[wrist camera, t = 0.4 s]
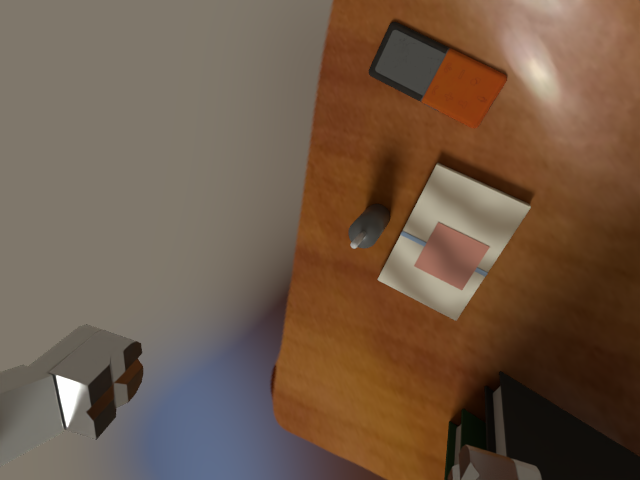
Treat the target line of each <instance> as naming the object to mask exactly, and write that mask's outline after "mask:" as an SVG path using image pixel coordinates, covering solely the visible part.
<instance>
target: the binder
mask: <svg viewBox="0 0 640 480" xmlns="http://www.w3.org/2000/svg"><path fill="white" fill-rule="evenodd" d="M499 375H500V387H499V388H498V389H497V390H496V391H493V390H492V389H490V388H489V387H487V386H485V415H486V423H485V422H483V421H482V420H480V419H479V418H477V417H476V416H474V415H472V414H471V413H469V412H468V411H466V410H465V409H462V417H461V425H460V426H459V427H458V426H456V425H455V424H454V423H452V422H451V421H450V422H449V429H448V441H447V454H446V466H445V478H444V480H447V479H448V475H449V473H450V471H451V468H452V467H453V466H455V465H457V464H459V455H458V454H459V452H460V450H461V448H462V447H463V446H464V445H465V444H466V445H470V446H473V447H476V448H480V449H483V450H486V451H490V452H493V453H496V454H500V455H503V456H506V457H509V458H510V459H515V460H518V461H521V462H524V463H528V464H531V465H534V466H536V467H537V468H538V470H539V471H540V475H541V478H542V480H640V457H639V456H637V455H636V454H634V453H633V452H631V451H629V450H628V449H626V448H624V447H623V446H621V445H620V444H618V443H616V442H615V441H613V440H612V439H610V438H608V437H607V436H605V435H603V434H602V433H600V432H599V431H597V430H595V429H594V428H592V427H590V426H589V425H587V424H586V423H584V422H582V421H581V420H579V419H577V418H576V417H574V416H573V415H571V414H569V413H568V412H566V411H564V410H563V409H561V408H560V407H558V406H556V405H555V404H553V403H551V402H550V401H548V400H547V399H545V398H543V397H542V396H540V395H539V394H537V393H535V392H534V391H532V390H530V389H529V388H527V387H526V386H524V385H522V384H521V383H519V382H517V381H516V380H514V379H513V378H511V377H509V376H508V375H506V374H504V373H503V372H501V371H500V372H499Z"/></svg>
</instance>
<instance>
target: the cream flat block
mask: <svg viewBox="0 0 640 480" xmlns="http://www.w3.org/2000/svg"><path fill="white" fill-rule="evenodd" d="M530 208H531V206H530V204H528V203H526V202H524V201H522V200H519V199H517V198H515V197H513V196H511V195H508V194H506V193H504V192H502V191H500V190H497V189H495V188H493V187H491V186H488V185H486V184H484V183H482V182H480V181H477V180H475V179H473V178H471V177H468V176H466V175H464V174H462V173H460V172H457V171H455V170H453V169H451V168H448V167H446V166H444V165H442V164H440V163H437V165H436V167H435V169H434V171H433V173H432V174H431V176H430V178H429V180H428V182H427V184H426V186H425V188H424V190H423V192H422V194H421V196H420V198H419V200H418V202H417V204H416V206H415V208H414V210H413V211H412V213H411V215H410V217H409V219H408V221H407V223H406V225H405V227H404V229H403V231H402V233H401V235H400V237H399V239H398V241H397V243H396V245H395V247H394V249H393V250H392V252H391V254H390V256H389V258H388V260H387V262H386V264H385V266H384V268H383V270H382V272H381V274H380V276H379V278H378V280H379V281H381V282H383V283H384V284H386V285H388V286H390V287H392V288H394V289H396V290H398V291H400V292H402V293H404V294H406V295H407V296H409V297H411V298H413V299H415V300H417V301H419V302H421V303H423V304H425V305H427V306H429V307H430V308H432V309H434V310H436V311H438V312H440V313H442V314H444V315H446V316H448V317H450V318H452V319H453V320H455V321H456V320H457V319H458V317H459V316H460V314H461V312H462V311H463V309H464V308H465V306H466V305H467V303H468V302H469V300H470V299H471V297H472V296H473V294H474V293H475V291H476V290H477V288H478V287H479V285H480V284H481V282H482V281H483V279H484V278H485V276H486V275H487V273H488V272H489V270H490V269H491V267H492V265H493V264H494V262H495V261H496V259H497V258H498V256H499V255H500V253H501V252H502V250H503V249H504V247H505V246H506V244H507V243H508V241H509V240H510V238H511V237H512V235H513V234H514V232H515V231H516V229H517V228H518V226H519V225H520V223H521V222H522V220H523V218H524V217H525V215H526V214H527V212H528V211H529V209H530Z"/></svg>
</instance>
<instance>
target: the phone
mask: <svg viewBox="0 0 640 480" xmlns="http://www.w3.org/2000/svg"><path fill="white" fill-rule="evenodd" d="M369 75H370V76H372V77H374V78H375V79H377V80H379V81H381V82H383V83H385V84H387V85H389V86H391V87H393V88H395V89H397V90H399V91H401V92H403V93H405V94H407V95H409V96H411V97H412V98H414V99H416V100H418V101H420V102H422V103H424V104H426V105H428V106H429V107H431V108H433V109H435V110H437V111H440V112H442V113H444V114H446V115H448V116H450V117H451V118H453V119H455V120H457V121H459V122H461V123H463V124H465V125H467V126H469V127H471V128H477V127H478V126H479V124H480V123H481V121H482V120H483V118H484V116H485V115H486V113H487V112H488V110H489V108H490V107H491V105H492V103H493V102H494V100H495V99H496V97H497V96H498V94H499V92H500V91H501V89H502V87H503V86H504V84H505V83H506V81H507V77H506V75H505V74H503V73H501V72H499V71H496V70H494V69H492V68H490V67H488V66H486V65H484V64H482V63H480V62H478V61H476V60H474V59H472V58H470V57H468V56H465V55H463V54H461V53H459V52H457V51H455V50H453V49H451V48H449V47H447V46H445V45H443V44H441V43H439V42H437V41H435V40H432V39H430V38H428V37H426V36H424V35H422V34H420V33H418V32H416V31H414V30H412V29H410V28H408V27H406V26H404V25H402V24H399V23H397V22H392V23H391V24H390V25H389V27H388V30H387V32H386V34H385V36H384V38H383V41H382V43H381V45H380V47H379V49H378V51H377V54H376V56H375V58H374V60H373V62H372V65H371V67H370V69H369Z"/></svg>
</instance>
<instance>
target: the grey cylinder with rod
mask: <svg viewBox="0 0 640 480" xmlns="http://www.w3.org/2000/svg"><path fill="white" fill-rule="evenodd" d="M389 221H390V213H389V211H388V209H387V208H386V207H385V206H383V205H381V204H373V205H371V206H369V207H368V208H367V209H366V210H365V211H364V212H363V213H362V214H361V215H360V216H359V217H358V218H357V219H356V221H355V222H354V223H353V224H352V225H351V226H350V228H349V238H350V240H351V242H352V243H351V247H352V248H354V249H355V248H357V247H360V248H368V247H371V246H372V245H374V244H375V242H376V241H377V239H378V238H379V236H380V235H381V233H382V232H383V230H384V229H385V227H386V226H387V225H388V223H389Z"/></svg>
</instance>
